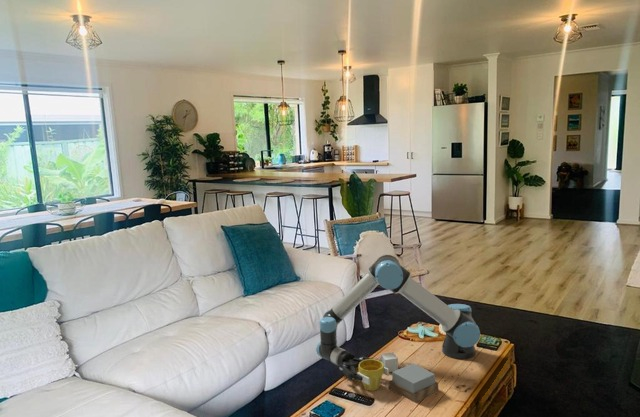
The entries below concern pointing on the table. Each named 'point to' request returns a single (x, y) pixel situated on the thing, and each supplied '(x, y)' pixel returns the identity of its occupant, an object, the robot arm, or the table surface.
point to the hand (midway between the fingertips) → (378, 376)
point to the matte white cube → (390, 361)
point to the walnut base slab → (413, 396)
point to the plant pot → (372, 373)
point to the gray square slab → (413, 378)
